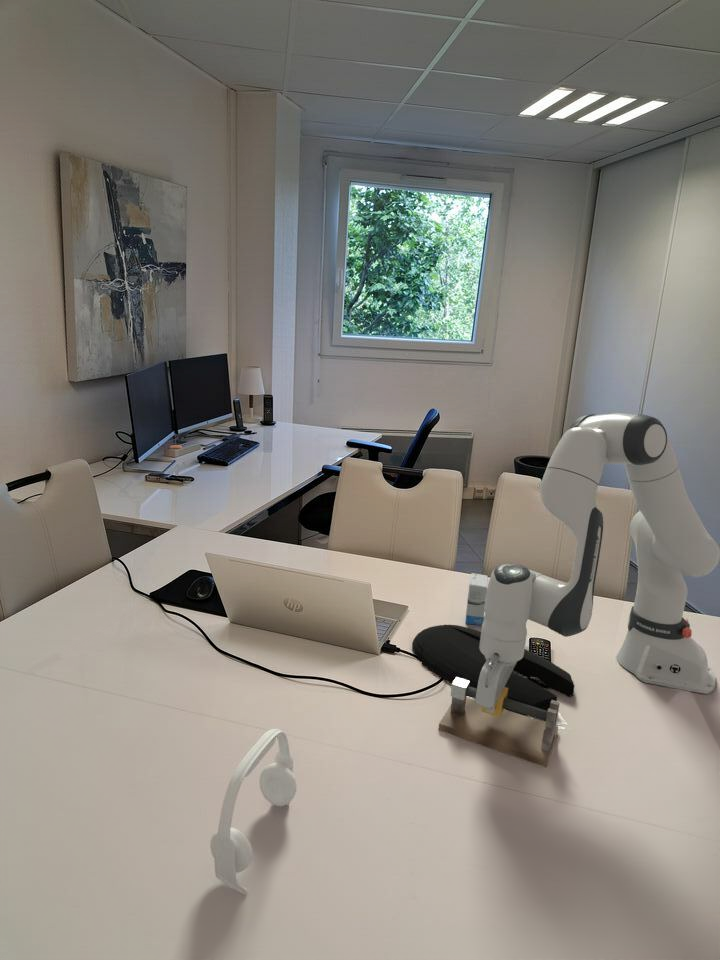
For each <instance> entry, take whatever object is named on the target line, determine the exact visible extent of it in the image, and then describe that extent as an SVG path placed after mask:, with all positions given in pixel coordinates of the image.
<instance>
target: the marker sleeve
mask: <svg viewBox="0 0 720 960" xmlns="http://www.w3.org/2000/svg"><path fill="white" fill-rule="evenodd" d="M507 693H508V688H507V687H504V689H503V691H502V693H501V695H500V697H499V699H498V701H497V702H496V709H495V711H494V713H489V712H487V711H486V710H485V708H484V707H482V708H481V712H484V713H487V714H490V715H493V716H496V717H499V718H500V717H501V715H502V713H503V711H504V709H505V708H503V707H502V706H503V700H504V698H507Z"/></svg>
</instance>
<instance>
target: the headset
mask: <svg viewBox="0 0 720 960" xmlns="http://www.w3.org/2000/svg"><path fill="white" fill-rule="evenodd" d="M276 739H277V742H278V752H277V753H276V755H275V757H274V762H273V763H270V764H267V765H266V766H265V767H264V768H263V769H262V771H261V772H260V773H261V774H260V776H259V780H258V781H259V789H260V792H261V794H262V796H263V798H264V799H265V800H266V801H267V802H269V803H270V804H271V805H273V806H276V807H277V806H278V807H283V806H287V807H289V806H290V804H291V802H292V800H293V799H294V798H295V795H296V793H297V781H296V777H295V775H294V773H293V772H294V759H293V758H292V757H293V756H291V752H290V745H289V740H288V738H287V735H286V733H285V732H283V731H282V730H281V729H279V728H271V729H269V730H268V731H267V730H266V732H265V733H264V734H263V735H262V736H261V737H260V738H259V739H258V740H257V741H256V742H255V744H254V745H253V746H252V747H251V748H250V749H249V751H248V752H247V753H246V754H245V756H244V757H242V760H241V761H240V763H239V764H238V766H237V767H236V769H235V771H234V772H233V774H232V776H231V778H230V781H229V783H228V785H227V788H226V790H225V794H224V797H223V802H222V804H221V805H222V806H221V812H220V817H219V822H218V827H217V830H215V832H214V833H213V834H212V836H211V839H210V845H209V846H210V851H211V852H210V853H211V855H212V857H213V859H214V860H213V862H214V872H215V873H214V874H215V877H216V878H217V879H218V880H219V881H220V882H221V883H223V884H224V885H226V886H228V887H229V888H231V889H232V890H234V891H237V892H238V893H240V894H243V895H245V896H247V895H248V889H247V888H246V887H245V886H244V885H242V884H240V883H239V880H238V879H237V873H243V872H244V871H245V870H247V868H249V866H250V864H251V862H252V858H253V849H252V845H251V844H250V841H249V839H248V838H247V836H245V834H243V833H242V831H240V830H239V829H237V828H235V827H231V826H232V822H233V821H232V820H233V814H234V810H235V805H236V800H237V797H238V794H239V792H240V789H241V786H242V783H243V781H244V780H245V778H247V777H249V775H250V774H251V773H252V772H253V771H254V769H255V768H256V767H257V766H258V764H259V763H261V761H262V760H263V758H264V757H265V756H266V755H267V753H268V752H269V751H270V750H271V748H272V747H273V746H274V745H275V742H276Z"/></svg>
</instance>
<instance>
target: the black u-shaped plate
mask: <svg viewBox="0 0 720 960" xmlns="http://www.w3.org/2000/svg"><path fill="white" fill-rule="evenodd" d="M480 637H481V630H477V629H475V628H474V629H473V628H470V627H466V626H463V625H459V624H442V625H441V624H439V625H433V626H429V627H427V628H424V629H423V630H421V631H419V632H418V633H417V634H416V636H415V637H414V638H413V640H412V645H411V647H412V651H413V653H414V655H415V656H416V657H417V658H418V659H419V660H420V661H421V664H422V665H423V666H424V667H425V668H427V670H429V671H430V672H432V673H434V674H435V675H437V676H438V677H440V678H441V679H442V680H445V681H446V682H448V683H450V684H451V685H452V683H453V681H454V680H455V678H456V677H458V678H462V679H465V680H468V681H470V685H469V686H470V687H473V688H476V689H477V687H478V681H479V676H480V672H481V670H482V667H483V666H484V664H485V662H486V661H487V660H486V658H485V655H483V654H482V653H481V651H480V649H479V645H480ZM529 676H534V677H537V678H539V679H540V680H541V681H543V682H544V683H545V684H546V686H545V687H547V688H549V689H552V690H554V691H556V692H558V693H560V694H562V695H565V696H566V697H569V698H571V697H573V696H574V690H575V683H574V681H573V678H572V676H571V673H569V672H567V671H566V670H565V669H563V668H561V667H560V666H558V665H556V664H554V663H553V662H551V661H549V660H548V659H546V658H544V657H542V656H540V655H538V654H536V653H534V652H532V651H530V650H528V649H527V648H525V649H524V656H523V658H522V659H521V660H519V661H517V663H516V665H515V667H514V669H513V671H512V673H511V675H510V677H509V679H508V681H507V683H506V685H505V687H507V688H508V693H507V698H508V699H511V700H514V701H517V702H520V703H523V704H527V705H530V706H533V707H536V708H539V709H542V710H546V711H548V708H550V703H551V700H554V701H558V696H557V695H556V694H555V693H553V692H551V691H550V690H548V689H546V688H545V687H543V686H541V685H539V683H537V682H534V680H532V679H530V678H528V677H529ZM505 710H508V711H511V712H514V713H517V714H521V713H518V712H515V711H512V710H509V709H506V708H505ZM521 715H524V714H521ZM524 716H527V715H524ZM527 717H528V716H527Z"/></svg>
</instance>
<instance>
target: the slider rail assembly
mask: <svg viewBox="0 0 720 960" xmlns="http://www.w3.org/2000/svg"><path fill="white" fill-rule="evenodd" d="M560 703H561V702H560V701H558V700H557V701H554V700H551V703H550V708H548V711H547V717H546V721H543V720H540V719H537V718H534V717H530V716H524V715H521V714H517V713H514V712H511V711H508V710H505V709H504V711H503V713H502V715H501V717H500V718H499V717H496V716H493V715H490V714H487V713H484V712H481V708H482V707H481V706H478V705H477V704H476V699H475V698H472V697H469V696H467V697H466V704H465V710H464V712H463V714H462V716H460V715H457V714H454V713H451V712H450V711H451V704H450V705H449V707H448V709H447V710H446V712H445V713H444V715H443V716H442V719H440V721H439V722H438V723H439V724H438V731H441V732H444V733H447V734H449V735H452V736H455V737H458V738H461V739H465V741H469V742H473V743H476V744H478V745H481V746H484V747H486V748H490V749H492V750H495V751H498V752H501V753H504V754H507V755H510V756H512V757H514V758H518V759H521V760H524V761H527V762H529V763H532V764H535V765H538V766H540V767H544V768H547V766H548V764H549V763H548V762H549V760H550V756H551V753H552V750H553V749H554V748H553V747H554V744H555V741H556V739H557V735H558V731H559V726H558V725H557V723H558V717H559V716H558V715H559V709H560ZM556 714H557V719H556ZM555 719H556V723H555Z"/></svg>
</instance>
